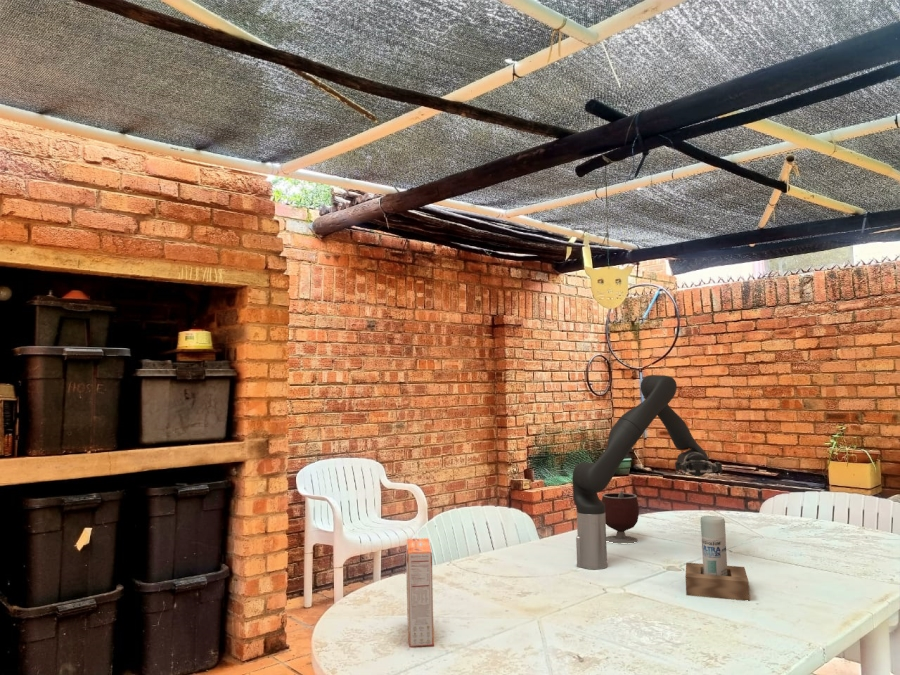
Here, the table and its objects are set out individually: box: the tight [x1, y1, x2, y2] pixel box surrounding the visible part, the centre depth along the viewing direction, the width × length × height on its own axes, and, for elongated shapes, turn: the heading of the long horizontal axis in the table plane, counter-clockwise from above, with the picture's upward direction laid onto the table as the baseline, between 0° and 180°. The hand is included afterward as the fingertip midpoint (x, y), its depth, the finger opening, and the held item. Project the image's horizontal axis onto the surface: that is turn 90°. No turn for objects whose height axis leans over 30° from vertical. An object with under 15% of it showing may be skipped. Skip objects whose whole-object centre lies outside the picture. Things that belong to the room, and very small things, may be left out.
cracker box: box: [405, 537, 435, 648], centre depth 150 cm, size 14×6×21 cm, turn 5°
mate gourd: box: [601, 490, 640, 544], centre depth 246 cm, size 16×14×20 cm
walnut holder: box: [685, 562, 751, 602], centre depth 182 cm, size 16×16×5 cm
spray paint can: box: [700, 515, 728, 576], centre depth 183 cm, size 6×6×20 cm
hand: (699, 468), depth 203 cm, fingers open, 8 cm apart
